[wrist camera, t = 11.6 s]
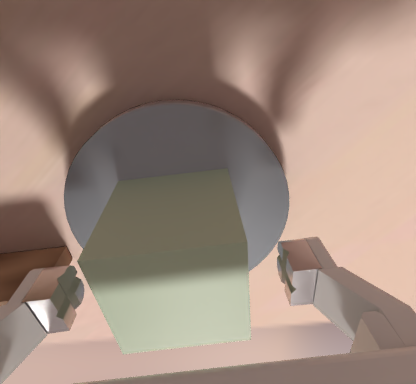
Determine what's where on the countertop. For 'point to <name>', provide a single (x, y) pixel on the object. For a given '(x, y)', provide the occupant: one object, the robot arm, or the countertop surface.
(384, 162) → the countertop surface
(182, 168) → the grey round glossy part
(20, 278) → the cubby
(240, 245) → the cube
